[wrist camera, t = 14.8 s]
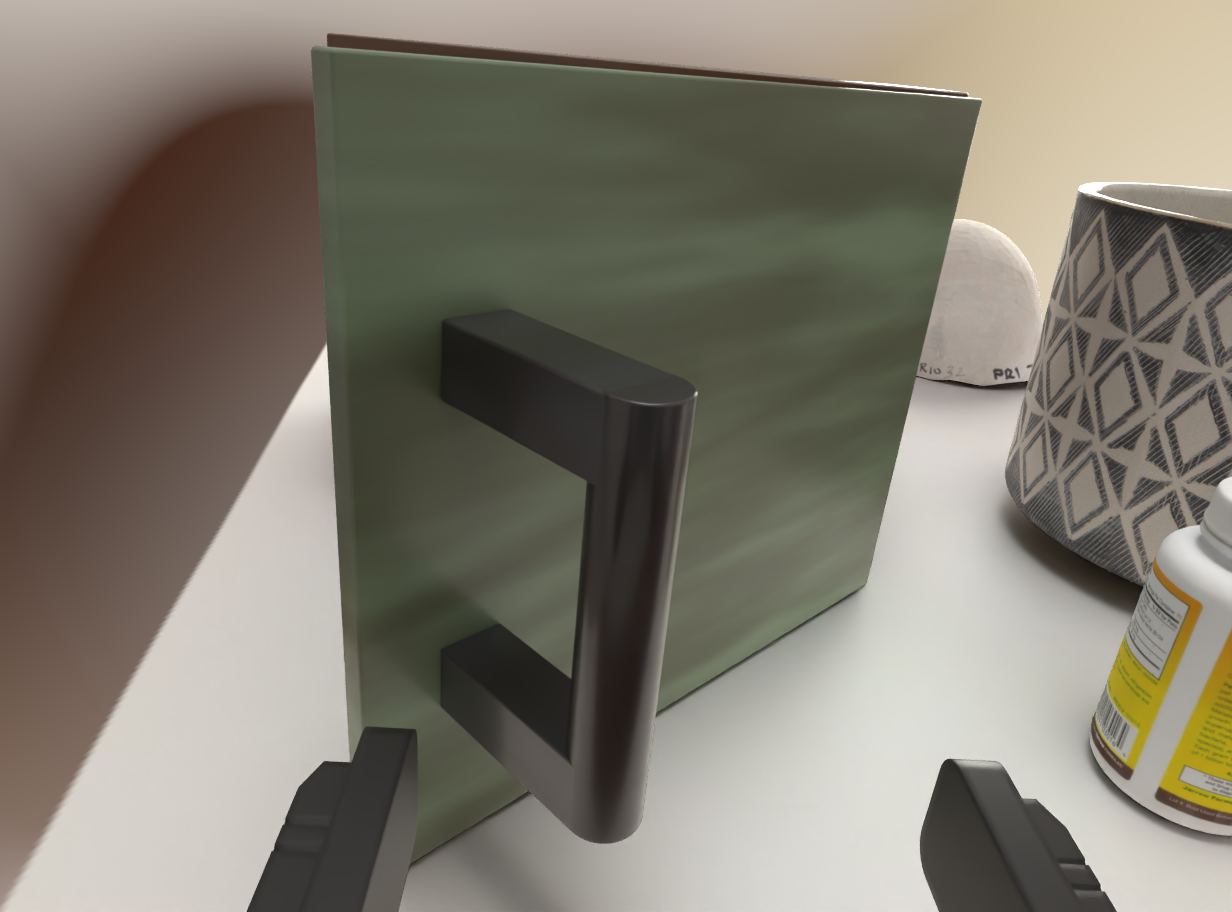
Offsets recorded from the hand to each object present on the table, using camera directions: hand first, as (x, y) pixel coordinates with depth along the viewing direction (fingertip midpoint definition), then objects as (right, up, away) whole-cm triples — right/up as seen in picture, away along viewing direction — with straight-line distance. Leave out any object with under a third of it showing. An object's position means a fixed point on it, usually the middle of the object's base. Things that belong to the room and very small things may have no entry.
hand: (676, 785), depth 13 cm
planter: (+28, 0, +31) cm, 41 cm away
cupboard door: (+3, -4, +15) cm, 16 cm away
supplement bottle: (+18, -6, +16) cm, 24 cm away
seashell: (+26, +13, +59) cm, 66 cm away
